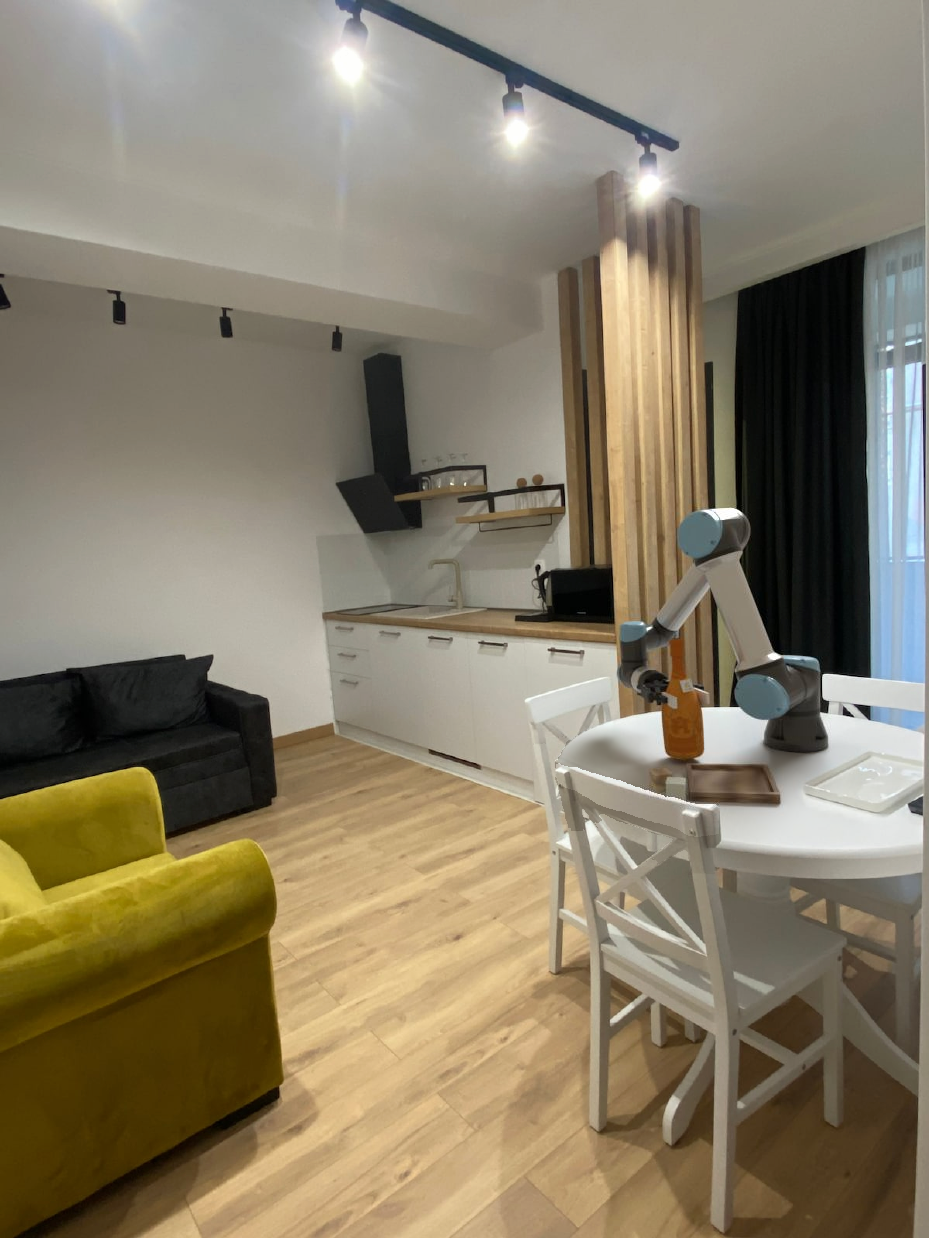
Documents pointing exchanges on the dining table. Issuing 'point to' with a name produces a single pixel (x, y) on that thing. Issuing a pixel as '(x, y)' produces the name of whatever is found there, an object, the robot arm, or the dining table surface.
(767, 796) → the tray
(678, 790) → the pale grey cube
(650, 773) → the oak block
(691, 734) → the wine bottle
